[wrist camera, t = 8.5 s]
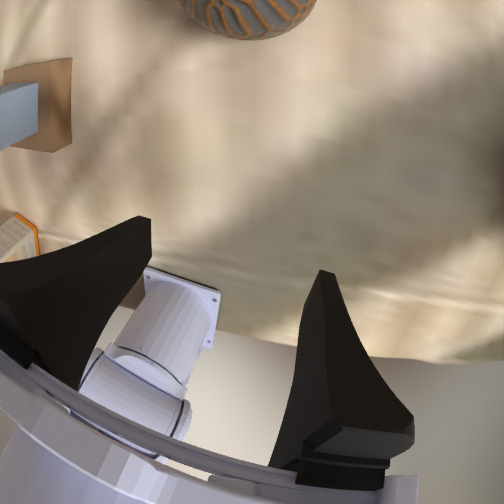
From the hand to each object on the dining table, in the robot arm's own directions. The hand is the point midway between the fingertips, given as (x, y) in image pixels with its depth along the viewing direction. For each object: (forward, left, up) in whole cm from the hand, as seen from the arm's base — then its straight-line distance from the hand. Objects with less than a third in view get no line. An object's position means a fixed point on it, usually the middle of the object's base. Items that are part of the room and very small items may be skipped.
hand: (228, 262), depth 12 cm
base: (+3, +22, -10) cm, 25 cm away
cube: (+3, +22, -7) cm, 24 cm away
